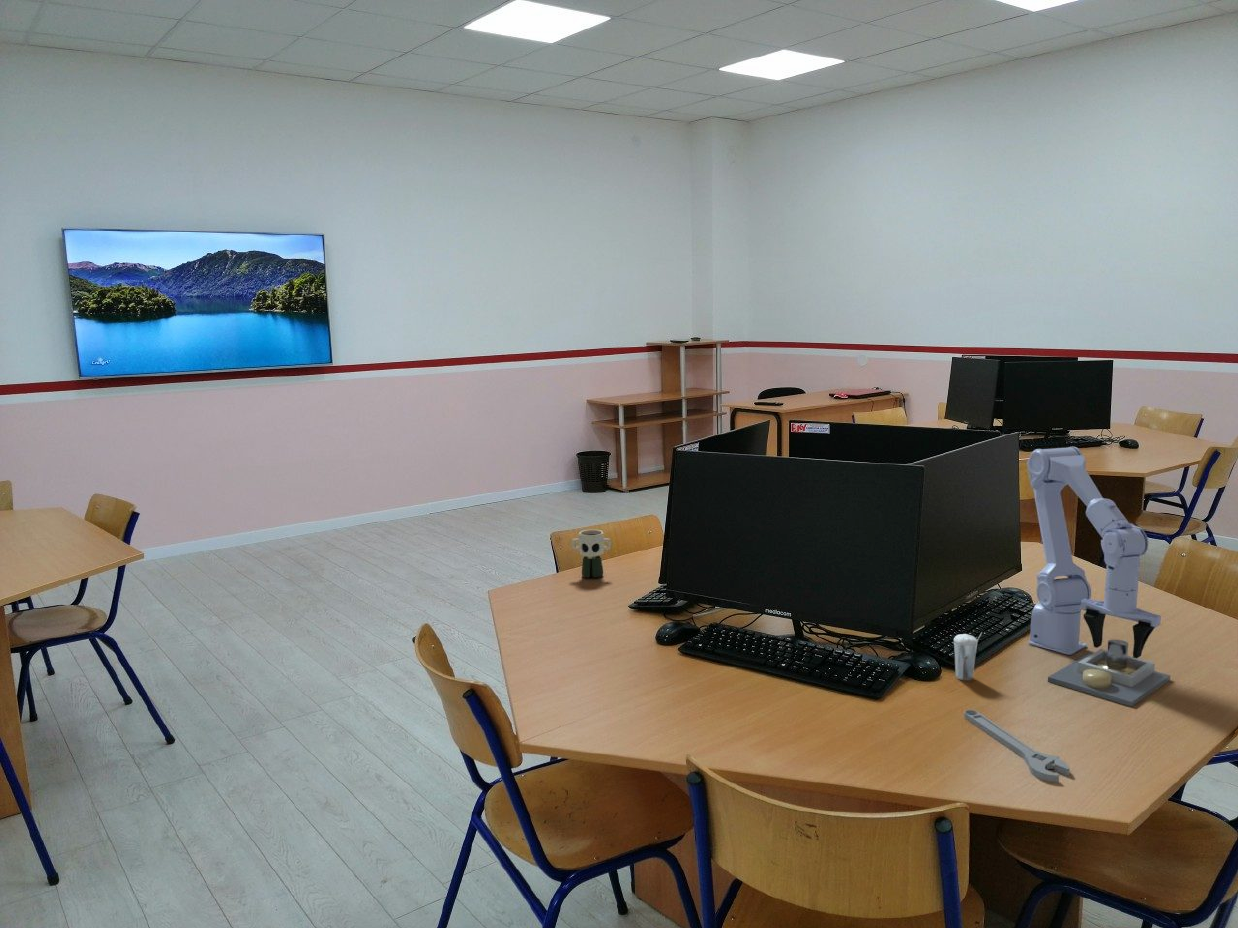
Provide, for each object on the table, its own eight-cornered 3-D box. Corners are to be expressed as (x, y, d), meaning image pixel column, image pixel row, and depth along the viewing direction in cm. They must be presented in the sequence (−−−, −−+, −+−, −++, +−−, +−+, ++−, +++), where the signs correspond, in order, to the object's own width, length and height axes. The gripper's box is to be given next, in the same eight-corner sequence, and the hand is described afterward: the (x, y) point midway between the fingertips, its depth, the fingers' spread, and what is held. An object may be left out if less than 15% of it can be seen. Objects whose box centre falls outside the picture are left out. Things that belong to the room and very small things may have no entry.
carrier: (1047, 681, 187) (1048, 667, 186) (1088, 657, 198) (1089, 644, 198) (1131, 706, 175) (1132, 691, 174) (1170, 679, 186) (1171, 665, 185)
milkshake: (982, 682, 187) (984, 636, 186) (954, 681, 188) (955, 634, 187) (978, 673, 192) (980, 628, 190) (950, 672, 193) (952, 626, 191)
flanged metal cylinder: (1090, 671, 189) (1092, 642, 188) (1106, 662, 193) (1108, 633, 192) (1126, 681, 183) (1128, 651, 182) (1141, 672, 188) (1144, 642, 187)
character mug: (572, 580, 264) (570, 535, 261) (575, 572, 271) (573, 529, 268) (610, 580, 263) (608, 535, 260) (612, 572, 270) (611, 529, 267)
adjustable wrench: (960, 718, 174) (960, 709, 173) (991, 714, 175) (992, 705, 175) (1042, 785, 149) (1043, 775, 149) (1078, 780, 150) (1079, 770, 150)
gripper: (1169, 590, 182) (1163, 655, 184) (1093, 574, 193) (1089, 636, 195) (1154, 598, 177) (1149, 665, 180) (1077, 582, 189) (1073, 645, 191)
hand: (1117, 651), depth 187 cm, fingers open, 7 cm apart
